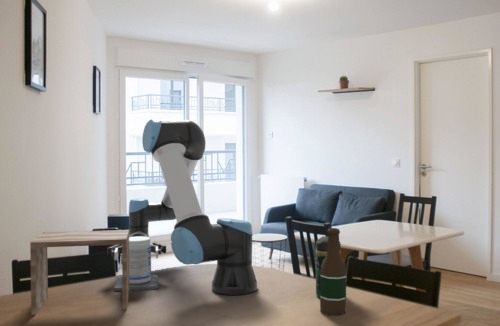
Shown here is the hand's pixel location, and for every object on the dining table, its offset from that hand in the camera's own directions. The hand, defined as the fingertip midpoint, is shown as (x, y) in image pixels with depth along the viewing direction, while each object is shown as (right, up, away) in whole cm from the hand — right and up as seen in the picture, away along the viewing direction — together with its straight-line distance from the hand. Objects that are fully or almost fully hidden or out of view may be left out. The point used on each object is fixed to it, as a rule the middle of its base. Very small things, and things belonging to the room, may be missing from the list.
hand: (136, 255), depth 164 cm
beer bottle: (+62, -12, -24) cm, 68 cm away
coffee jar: (+63, -11, -9) cm, 65 cm away
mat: (-1, -10, +3) cm, 11 cm away
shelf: (-12, -11, -17) cm, 24 cm away
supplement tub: (-1, -10, +3) cm, 10 cm away
